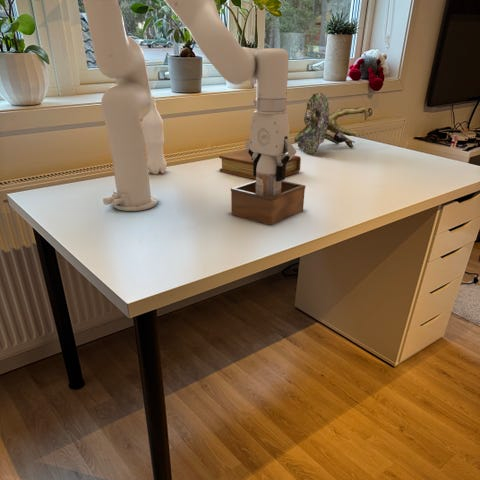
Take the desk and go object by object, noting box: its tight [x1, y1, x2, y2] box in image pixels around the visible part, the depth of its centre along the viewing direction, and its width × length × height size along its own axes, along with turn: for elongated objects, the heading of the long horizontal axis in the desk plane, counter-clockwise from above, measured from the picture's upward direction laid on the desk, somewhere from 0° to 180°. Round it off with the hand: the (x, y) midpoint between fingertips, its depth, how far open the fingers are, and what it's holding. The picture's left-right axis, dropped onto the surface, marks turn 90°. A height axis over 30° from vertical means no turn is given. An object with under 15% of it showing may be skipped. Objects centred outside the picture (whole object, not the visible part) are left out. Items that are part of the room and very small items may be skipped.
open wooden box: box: [230, 180, 306, 226], centre depth 125 cm, size 16×14×7 cm
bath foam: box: [255, 154, 281, 197], centre depth 122 cm, size 7×7×20 cm
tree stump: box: [294, 92, 367, 155], centre depth 194 cm, size 23×26×35 cm
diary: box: [218, 148, 302, 180], centre depth 164 cm, size 23×19×6 cm
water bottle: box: [141, 95, 168, 175], centre depth 158 cm, size 7×7×25 cm
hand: (268, 177), depth 122 cm, fingers closed on bath foam, 7 cm apart
